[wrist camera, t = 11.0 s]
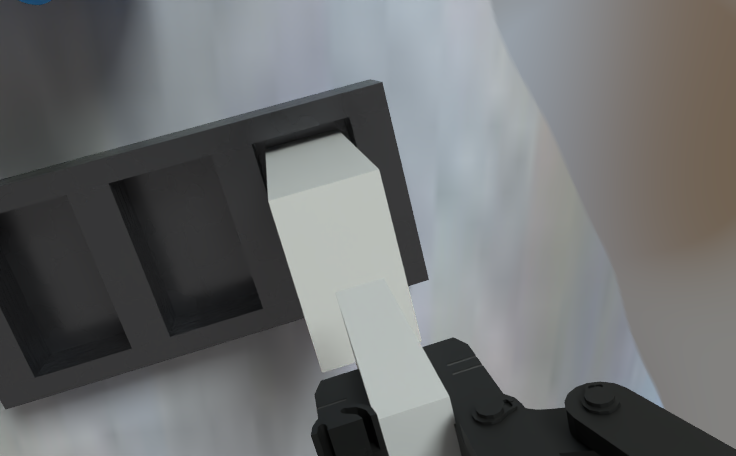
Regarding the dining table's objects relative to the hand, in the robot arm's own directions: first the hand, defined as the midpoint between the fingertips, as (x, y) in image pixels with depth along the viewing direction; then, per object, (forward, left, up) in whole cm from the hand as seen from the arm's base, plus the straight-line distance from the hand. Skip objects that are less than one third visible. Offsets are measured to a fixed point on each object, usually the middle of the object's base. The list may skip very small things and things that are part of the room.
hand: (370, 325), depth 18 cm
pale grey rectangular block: (0, 0, -16) cm, 16 cm away
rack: (0, -7, -17) cm, 18 cm away
